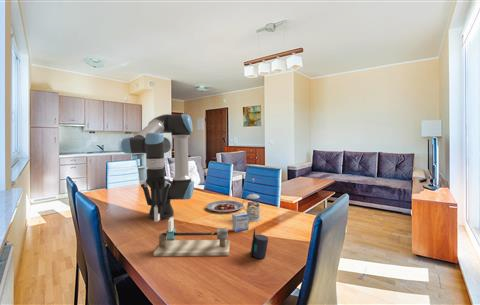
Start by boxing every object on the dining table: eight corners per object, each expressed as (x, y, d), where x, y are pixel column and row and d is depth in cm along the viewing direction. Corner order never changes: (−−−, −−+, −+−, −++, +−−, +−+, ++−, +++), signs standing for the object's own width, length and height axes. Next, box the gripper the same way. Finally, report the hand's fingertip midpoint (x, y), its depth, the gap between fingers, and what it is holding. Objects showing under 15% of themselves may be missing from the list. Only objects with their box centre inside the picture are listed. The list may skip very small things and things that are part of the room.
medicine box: (235, 232, 126) (235, 216, 125) (232, 229, 130) (231, 214, 129) (248, 229, 130) (248, 214, 129) (244, 226, 133) (244, 211, 133)
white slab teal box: (166, 240, 105) (165, 220, 105) (169, 236, 110) (168, 217, 109) (173, 240, 105) (172, 220, 105) (176, 236, 110) (175, 217, 109)
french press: (260, 222, 141) (260, 180, 139) (241, 220, 143) (240, 179, 141) (262, 216, 150) (262, 177, 148) (244, 215, 153) (243, 176, 151)
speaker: (246, 256, 100) (248, 232, 99) (250, 251, 105) (253, 228, 105) (263, 262, 97) (266, 237, 96) (267, 256, 102) (270, 232, 102)
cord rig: (153, 256, 102) (152, 236, 101) (162, 243, 114) (162, 225, 113) (228, 255, 102) (228, 235, 101) (229, 242, 114) (229, 224, 113)
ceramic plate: (248, 212, 160) (248, 207, 160) (209, 216, 153) (209, 211, 152) (237, 201, 185) (237, 198, 184) (204, 205, 177) (204, 201, 177)
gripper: (137, 169, 102) (139, 223, 103) (167, 168, 101) (169, 223, 103) (144, 167, 109) (146, 217, 110) (172, 166, 109) (174, 217, 110)
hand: (157, 220), depth 107 cm, fingers closed
